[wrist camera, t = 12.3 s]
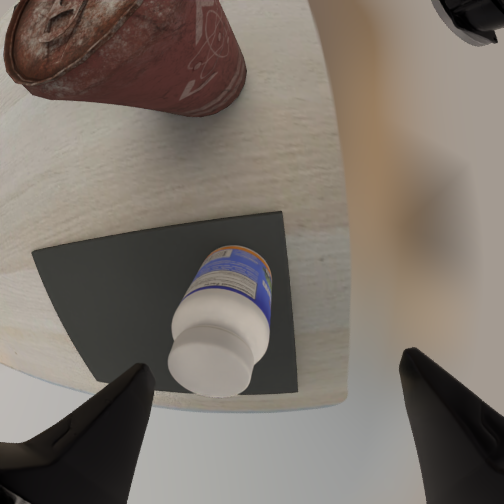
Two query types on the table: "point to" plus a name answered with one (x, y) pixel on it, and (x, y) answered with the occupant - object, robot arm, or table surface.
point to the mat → (162, 295)
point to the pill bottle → (222, 323)
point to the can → (127, 53)
